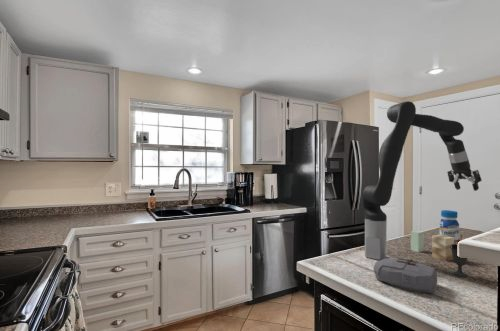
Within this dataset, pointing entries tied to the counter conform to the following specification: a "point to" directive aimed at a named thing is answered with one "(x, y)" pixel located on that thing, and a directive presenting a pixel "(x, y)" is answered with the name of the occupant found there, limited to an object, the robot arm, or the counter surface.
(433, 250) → the tower bottom
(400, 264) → the grey rounded bag
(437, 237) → the tower top
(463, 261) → the sundae
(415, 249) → the sage block
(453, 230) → the beverage bottle
